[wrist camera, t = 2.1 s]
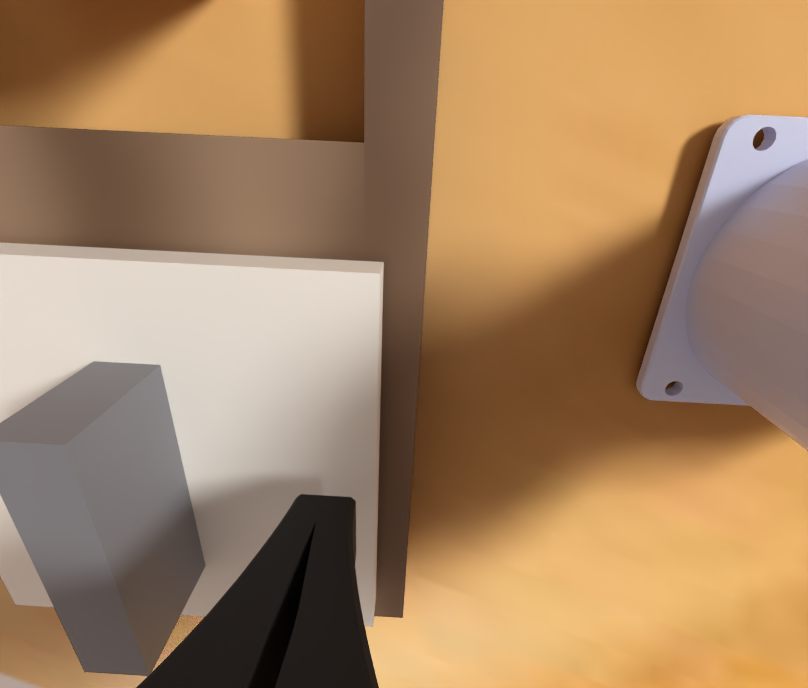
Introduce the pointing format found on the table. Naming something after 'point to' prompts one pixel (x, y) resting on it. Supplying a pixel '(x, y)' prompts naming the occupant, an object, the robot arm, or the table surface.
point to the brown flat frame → (273, 215)
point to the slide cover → (175, 428)
